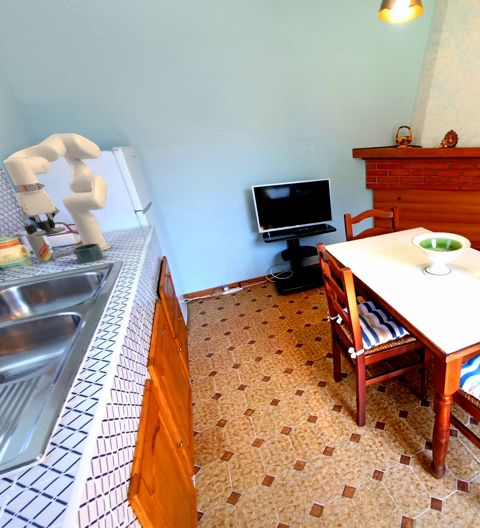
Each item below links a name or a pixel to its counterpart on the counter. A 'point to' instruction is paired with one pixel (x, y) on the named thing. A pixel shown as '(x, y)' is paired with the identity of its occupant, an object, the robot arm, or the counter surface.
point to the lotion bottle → (38, 245)
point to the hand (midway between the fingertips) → (48, 228)
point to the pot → (88, 253)
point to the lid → (48, 229)
